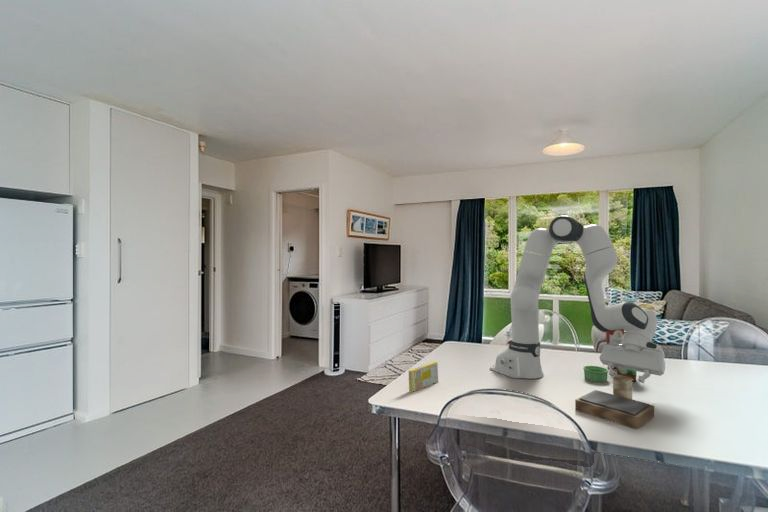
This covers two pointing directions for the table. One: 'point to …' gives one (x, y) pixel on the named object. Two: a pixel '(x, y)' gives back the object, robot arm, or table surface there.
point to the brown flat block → (615, 408)
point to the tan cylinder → (622, 386)
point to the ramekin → (595, 373)
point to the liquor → (615, 338)
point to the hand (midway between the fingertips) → (625, 378)
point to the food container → (627, 373)
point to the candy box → (423, 376)
